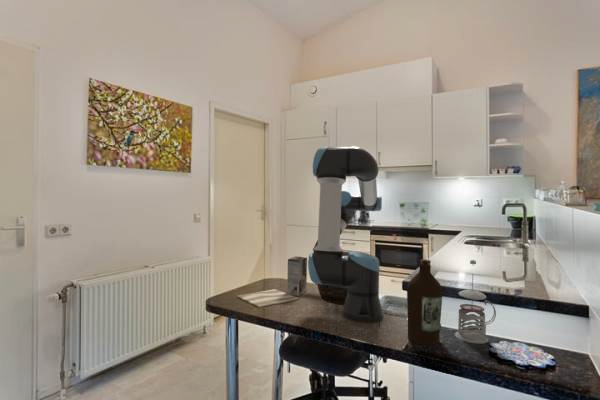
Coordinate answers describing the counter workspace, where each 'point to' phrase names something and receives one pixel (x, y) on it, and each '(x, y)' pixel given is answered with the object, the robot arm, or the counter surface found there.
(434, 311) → the olive oil
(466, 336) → the french press
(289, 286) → the coffee box
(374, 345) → the counter surface
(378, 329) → the counter surface
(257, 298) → the board
